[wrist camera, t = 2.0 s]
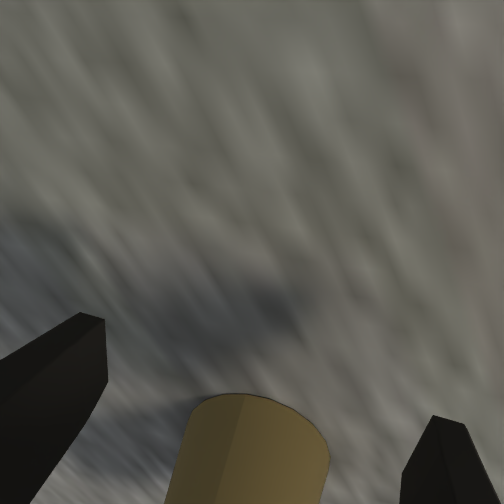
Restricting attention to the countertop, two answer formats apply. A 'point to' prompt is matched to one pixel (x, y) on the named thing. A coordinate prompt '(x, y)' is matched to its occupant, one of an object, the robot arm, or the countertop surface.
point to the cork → (248, 455)
